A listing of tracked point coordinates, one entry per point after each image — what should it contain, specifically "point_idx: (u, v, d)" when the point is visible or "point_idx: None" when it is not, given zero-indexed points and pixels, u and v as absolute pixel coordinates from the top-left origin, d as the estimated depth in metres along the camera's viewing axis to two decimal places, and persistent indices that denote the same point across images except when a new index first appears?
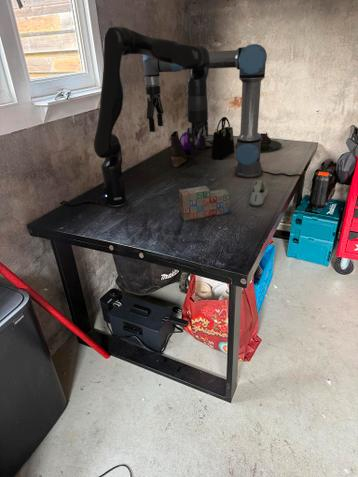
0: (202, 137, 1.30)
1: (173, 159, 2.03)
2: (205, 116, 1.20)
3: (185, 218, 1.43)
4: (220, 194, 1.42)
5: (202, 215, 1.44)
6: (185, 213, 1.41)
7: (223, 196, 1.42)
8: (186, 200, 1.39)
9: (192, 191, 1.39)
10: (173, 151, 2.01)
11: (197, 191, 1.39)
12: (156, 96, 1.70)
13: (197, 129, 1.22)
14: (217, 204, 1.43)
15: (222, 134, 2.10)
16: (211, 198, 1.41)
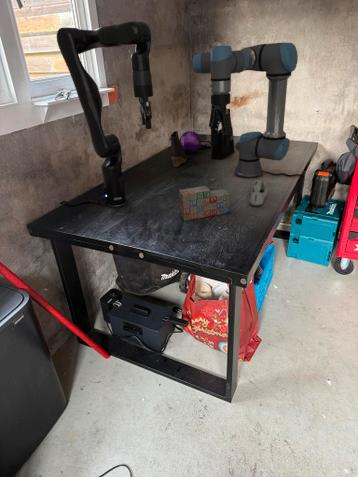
0: (143, 113, 1.36)
1: (173, 159, 2.03)
2: (152, 90, 1.28)
3: (185, 218, 1.42)
4: (220, 194, 1.42)
5: (202, 215, 1.44)
6: (185, 213, 1.41)
7: (223, 196, 1.42)
8: (186, 200, 1.38)
9: (192, 191, 1.39)
10: (173, 151, 2.01)
11: (197, 191, 1.39)
12: None
13: None
14: (217, 204, 1.43)
15: (222, 134, 2.10)
16: (211, 198, 1.41)
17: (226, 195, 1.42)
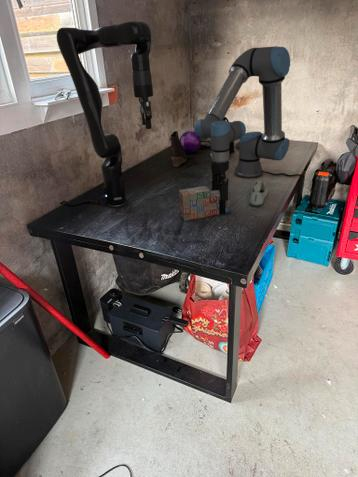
0: (143, 113, 1.36)
1: (173, 159, 2.03)
2: (152, 90, 1.28)
3: (185, 218, 1.42)
4: None
5: (202, 215, 1.44)
6: (185, 213, 1.41)
7: None
8: (186, 200, 1.38)
9: (192, 191, 1.39)
10: (173, 151, 2.01)
11: (197, 191, 1.39)
12: None
13: None
14: (217, 204, 1.43)
15: None
16: (211, 198, 1.41)
17: None
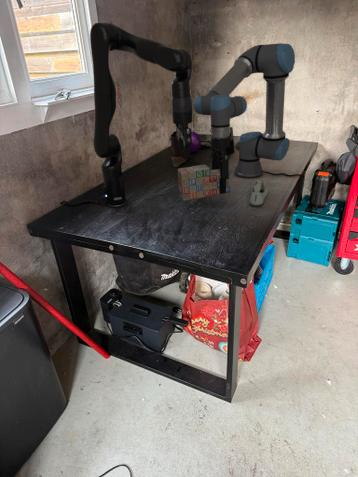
0: (181, 138, 1.34)
1: (173, 159, 2.03)
2: None
3: (184, 198, 1.38)
4: None
5: (201, 195, 1.39)
6: (184, 193, 1.37)
7: None
8: (185, 179, 1.34)
9: (191, 170, 1.34)
10: (173, 151, 2.01)
11: (196, 169, 1.34)
12: None
13: None
14: (217, 183, 1.39)
15: None
16: (211, 177, 1.37)
17: None
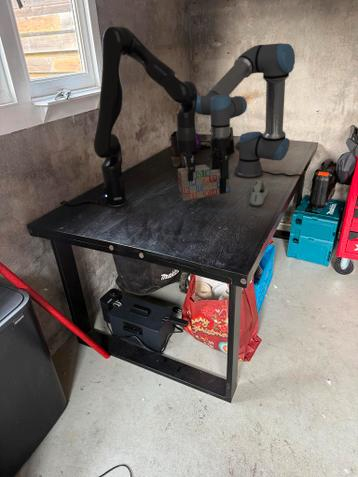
0: None
1: (173, 159, 2.03)
2: None
3: (184, 198, 1.38)
4: None
5: (201, 195, 1.39)
6: (184, 193, 1.37)
7: None
8: (185, 179, 1.34)
9: None
10: (173, 151, 2.01)
11: (196, 170, 1.34)
12: None
13: None
14: (217, 183, 1.39)
15: None
16: (211, 177, 1.37)
17: None
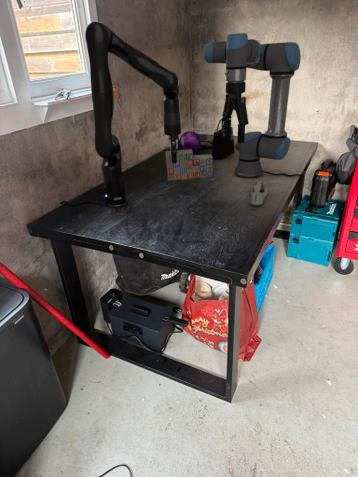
0: None
1: None
2: (180, 129, 1.43)
3: (169, 178, 1.52)
4: (204, 158, 1.49)
5: (185, 177, 1.52)
6: (169, 173, 1.51)
7: (206, 160, 1.49)
8: (169, 161, 1.48)
9: None
10: None
11: (180, 153, 1.48)
12: None
13: (175, 140, 1.44)
14: (200, 167, 1.51)
15: (222, 134, 2.10)
16: (194, 161, 1.49)
17: (209, 159, 1.49)
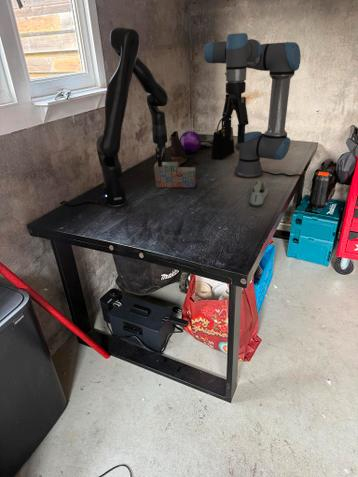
0: (162, 153, 1.77)
1: (173, 159, 2.03)
2: (166, 138, 1.68)
3: (157, 185, 1.79)
4: (186, 170, 1.73)
5: (170, 185, 1.77)
6: (157, 181, 1.78)
7: (188, 172, 1.72)
8: (157, 170, 1.75)
9: (163, 164, 1.74)
10: (173, 151, 2.01)
11: (166, 164, 1.73)
12: None
13: (161, 148, 1.69)
14: (183, 178, 1.74)
15: (222, 134, 2.10)
16: (178, 172, 1.73)
17: (190, 172, 1.72)
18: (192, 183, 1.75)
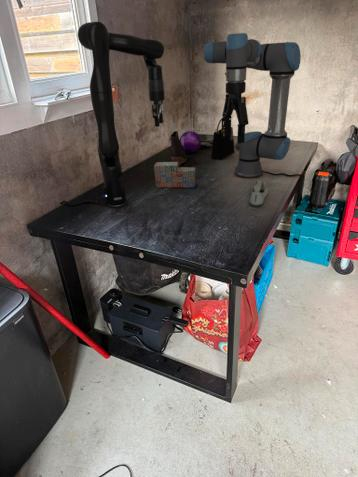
0: (160, 113, 1.67)
1: (173, 159, 2.03)
2: (163, 95, 1.57)
3: (157, 185, 1.79)
4: (186, 170, 1.73)
5: (170, 185, 1.77)
6: (157, 181, 1.78)
7: (188, 172, 1.72)
8: (157, 170, 1.75)
9: (163, 164, 1.74)
10: (173, 151, 2.01)
11: (166, 164, 1.73)
12: None
13: (158, 106, 1.58)
14: (183, 178, 1.74)
15: (222, 134, 2.10)
16: (178, 172, 1.73)
17: (190, 172, 1.72)
18: (192, 183, 1.75)
